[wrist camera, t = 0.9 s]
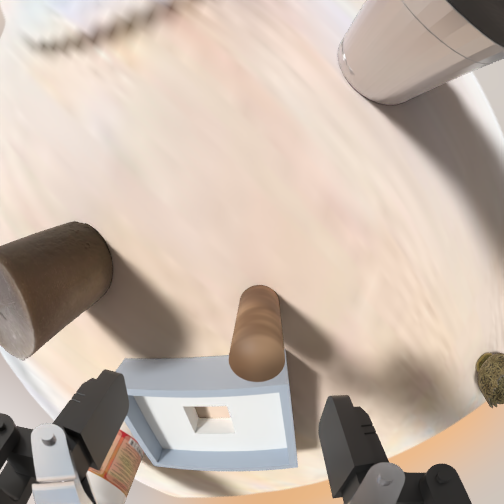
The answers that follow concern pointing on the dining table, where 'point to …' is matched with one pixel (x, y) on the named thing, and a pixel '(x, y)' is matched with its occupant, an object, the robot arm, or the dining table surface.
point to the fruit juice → (117, 469)
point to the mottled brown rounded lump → (491, 377)
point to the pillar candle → (49, 284)
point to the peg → (257, 336)
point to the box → (209, 429)
